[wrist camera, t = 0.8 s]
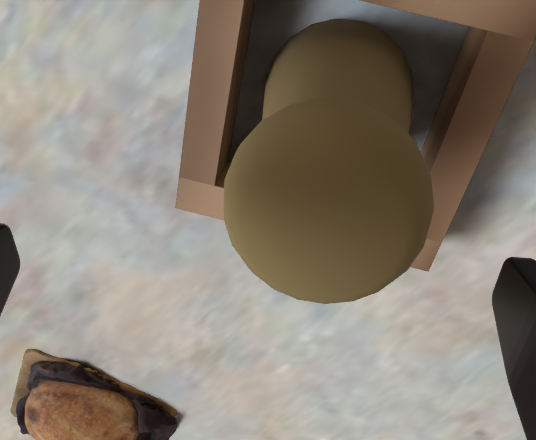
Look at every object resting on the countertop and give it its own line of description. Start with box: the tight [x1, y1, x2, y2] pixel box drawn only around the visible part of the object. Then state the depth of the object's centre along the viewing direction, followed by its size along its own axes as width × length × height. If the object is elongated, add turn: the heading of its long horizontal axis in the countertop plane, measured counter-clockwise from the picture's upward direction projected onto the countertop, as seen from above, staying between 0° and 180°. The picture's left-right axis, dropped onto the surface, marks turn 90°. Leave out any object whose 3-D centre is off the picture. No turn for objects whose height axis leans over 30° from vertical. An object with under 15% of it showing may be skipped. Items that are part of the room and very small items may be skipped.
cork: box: [224, 19, 434, 304], centre depth 16 cm, size 6×6×11 cm
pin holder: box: [175, 0, 536, 271], centre depth 20 cm, size 11×11×2 cm
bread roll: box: [11, 349, 177, 440], centre depth 32 cm, size 11×8×4 cm
